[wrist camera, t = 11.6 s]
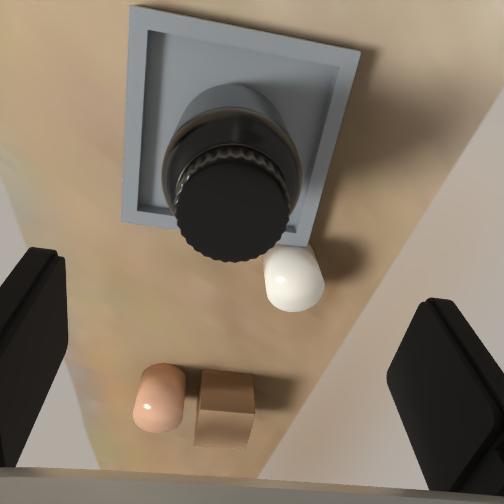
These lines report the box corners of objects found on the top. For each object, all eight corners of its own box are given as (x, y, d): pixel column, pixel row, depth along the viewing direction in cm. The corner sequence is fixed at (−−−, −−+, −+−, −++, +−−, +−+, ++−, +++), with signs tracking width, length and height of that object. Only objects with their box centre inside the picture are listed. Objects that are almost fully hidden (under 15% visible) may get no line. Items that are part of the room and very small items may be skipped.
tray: (134, 4, 25) (129, 5, 23) (354, 49, 27) (361, 51, 25) (125, 212, 31) (121, 222, 30) (303, 237, 33) (306, 247, 32)
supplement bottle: (305, 123, 28) (352, 195, 18) (244, 205, 31) (254, 310, 20) (214, 55, 26) (207, 93, 15) (157, 150, 28) (117, 236, 18)
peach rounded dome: (142, 361, 38) (134, 397, 35) (188, 365, 39) (185, 401, 35) (139, 393, 40) (131, 430, 37) (183, 397, 41) (180, 434, 37)
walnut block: (202, 368, 39) (200, 409, 35) (252, 373, 40) (255, 414, 36) (196, 403, 41) (193, 445, 37) (243, 407, 42) (245, 449, 38)
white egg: (268, 232, 33) (273, 260, 29) (320, 239, 33) (331, 268, 30) (257, 277, 34) (261, 308, 31) (307, 283, 35) (315, 315, 32)
